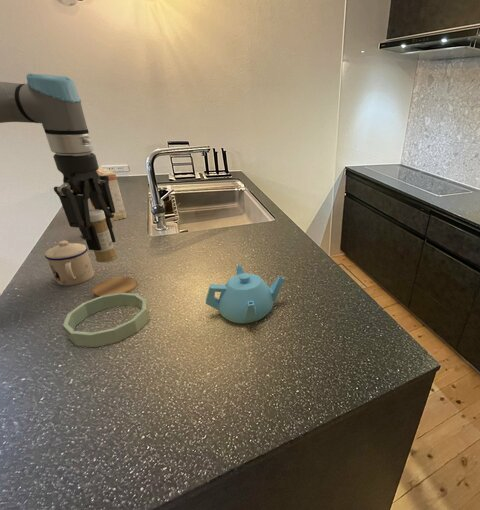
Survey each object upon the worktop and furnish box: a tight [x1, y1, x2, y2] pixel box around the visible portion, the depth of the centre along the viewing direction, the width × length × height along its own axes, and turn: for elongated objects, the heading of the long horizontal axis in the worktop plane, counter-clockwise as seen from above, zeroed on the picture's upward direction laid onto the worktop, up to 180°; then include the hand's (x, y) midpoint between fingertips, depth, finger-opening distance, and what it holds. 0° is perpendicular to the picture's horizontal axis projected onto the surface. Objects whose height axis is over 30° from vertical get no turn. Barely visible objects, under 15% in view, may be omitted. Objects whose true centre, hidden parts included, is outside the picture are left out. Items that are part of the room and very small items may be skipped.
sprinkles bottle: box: [89, 208, 118, 263], centre depth 79 cm, size 5×5×13 cm
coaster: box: [92, 276, 137, 298], centre depth 86 cm, size 10×10×1 cm
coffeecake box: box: [89, 166, 128, 222], centre depth 128 cm, size 15×7×20 cm, turn 55°
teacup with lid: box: [44, 240, 95, 286], centre depth 85 cm, size 12×9×12 cm
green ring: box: [62, 292, 150, 348], centre depth 73 cm, size 16×16×4 cm
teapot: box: [205, 264, 285, 325], centre depth 80 cm, size 15×15×11 cm
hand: (102, 245), depth 80 cm, fingers closed on sprinkles bottle, 4 cm apart
